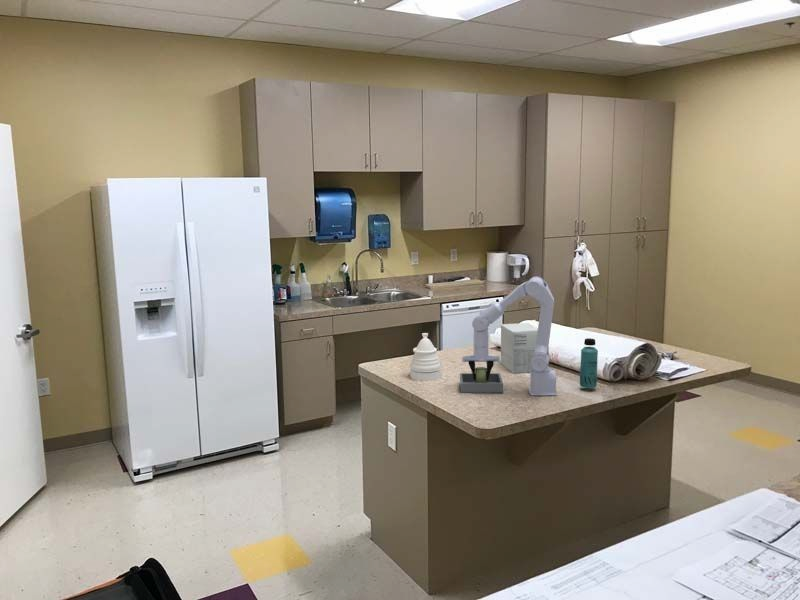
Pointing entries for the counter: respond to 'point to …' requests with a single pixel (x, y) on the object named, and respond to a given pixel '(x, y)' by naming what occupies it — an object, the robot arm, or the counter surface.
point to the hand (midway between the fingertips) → (480, 379)
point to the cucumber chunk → (481, 375)
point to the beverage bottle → (588, 365)
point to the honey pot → (425, 361)
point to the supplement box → (518, 346)
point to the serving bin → (481, 384)
